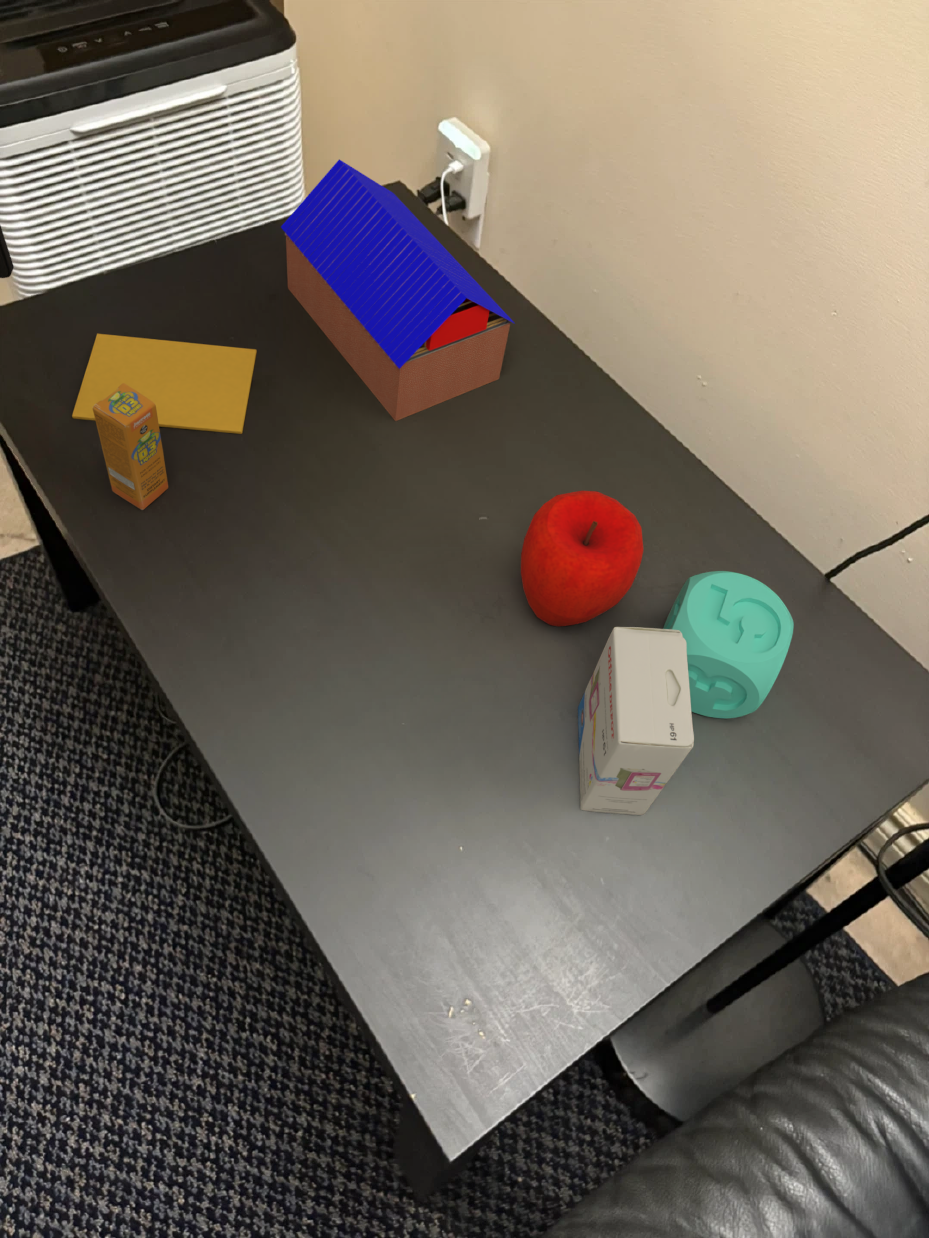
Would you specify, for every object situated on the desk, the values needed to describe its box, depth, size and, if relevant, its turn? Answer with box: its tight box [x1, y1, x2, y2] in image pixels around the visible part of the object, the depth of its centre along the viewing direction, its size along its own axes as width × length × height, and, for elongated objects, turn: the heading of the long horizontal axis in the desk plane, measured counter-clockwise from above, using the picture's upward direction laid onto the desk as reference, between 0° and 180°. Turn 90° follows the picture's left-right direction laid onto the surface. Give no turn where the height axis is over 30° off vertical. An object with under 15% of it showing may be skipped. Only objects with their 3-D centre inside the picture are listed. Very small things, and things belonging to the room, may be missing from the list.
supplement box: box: [93, 383, 169, 511], centre depth 74 cm, size 3×3×10 cm
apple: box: [520, 490, 644, 627], centre depth 73 cm, size 9×9×11 cm
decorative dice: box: [662, 570, 795, 719], centre depth 72 cm, size 8×8×8 cm
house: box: [280, 159, 515, 422], centre depth 86 cm, size 12×20×12 cm, turn 34°
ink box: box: [577, 626, 695, 816], centre depth 66 cm, size 8×5×12 cm, turn 178°
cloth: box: [71, 333, 258, 435], centre depth 84 cm, size 14×10×1 cm
